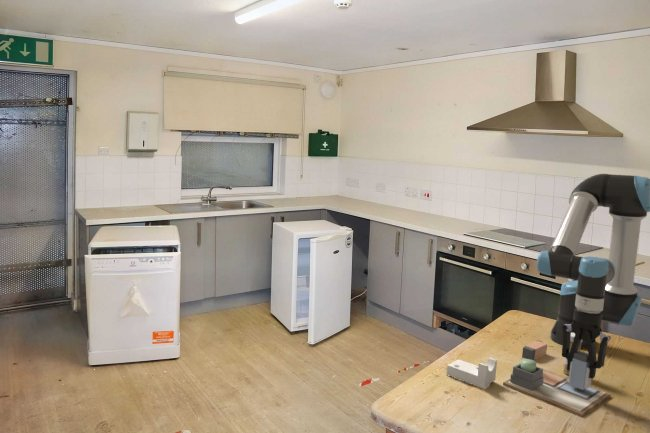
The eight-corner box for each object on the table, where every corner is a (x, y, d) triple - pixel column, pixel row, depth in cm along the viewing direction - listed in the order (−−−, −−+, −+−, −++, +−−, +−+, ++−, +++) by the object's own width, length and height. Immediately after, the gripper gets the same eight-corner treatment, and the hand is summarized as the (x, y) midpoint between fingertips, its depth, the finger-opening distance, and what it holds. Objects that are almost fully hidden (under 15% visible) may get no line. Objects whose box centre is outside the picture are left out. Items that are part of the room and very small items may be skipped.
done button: (524, 366, 169) (525, 357, 169) (538, 371, 166) (539, 362, 165) (517, 370, 166) (518, 361, 166) (531, 375, 163) (532, 366, 162)
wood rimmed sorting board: (534, 368, 180) (534, 364, 180) (610, 396, 163) (610, 392, 163) (502, 384, 167) (503, 380, 167) (581, 416, 150) (582, 412, 149)
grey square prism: (575, 381, 166) (579, 350, 165) (588, 386, 163) (592, 354, 162) (569, 384, 164) (573, 353, 162) (582, 389, 161) (586, 357, 159)
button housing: (521, 376, 172) (523, 361, 171) (542, 384, 166) (544, 369, 166) (510, 382, 167) (511, 366, 166) (531, 390, 162) (533, 375, 161)
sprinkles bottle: (581, 375, 177) (585, 335, 175) (572, 377, 175) (577, 338, 173) (568, 369, 181) (572, 331, 179) (559, 372, 178) (564, 333, 176)
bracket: (494, 382, 169) (497, 359, 168) (484, 389, 164) (486, 366, 163) (457, 369, 178) (459, 347, 177) (446, 375, 172) (448, 353, 171)
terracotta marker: (535, 351, 196) (521, 357, 190) (536, 340, 196) (522, 346, 189) (546, 354, 193) (532, 361, 187) (547, 344, 193) (533, 350, 186)
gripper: (554, 304, 164) (546, 377, 167) (614, 320, 151) (603, 398, 155) (565, 300, 169) (557, 371, 172) (624, 315, 156) (613, 391, 160)
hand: (579, 384), depth 163 cm, fingers closed on grey square prism, 4 cm apart
